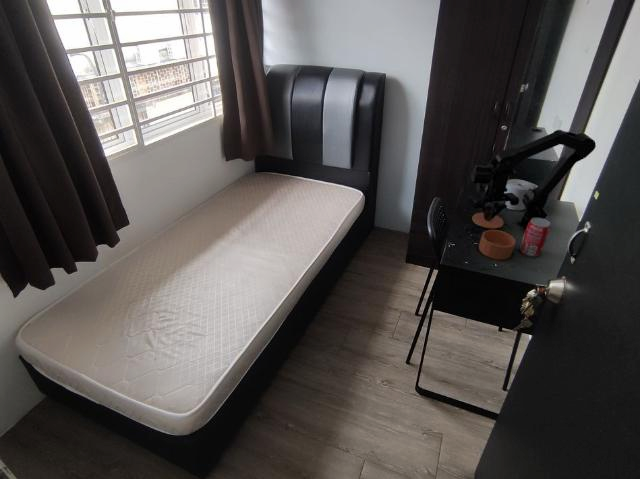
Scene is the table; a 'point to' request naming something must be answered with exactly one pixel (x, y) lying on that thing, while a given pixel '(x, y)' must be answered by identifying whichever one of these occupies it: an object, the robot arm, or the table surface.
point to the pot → (497, 244)
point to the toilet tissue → (518, 192)
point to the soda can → (535, 237)
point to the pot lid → (488, 221)
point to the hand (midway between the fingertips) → (488, 218)
